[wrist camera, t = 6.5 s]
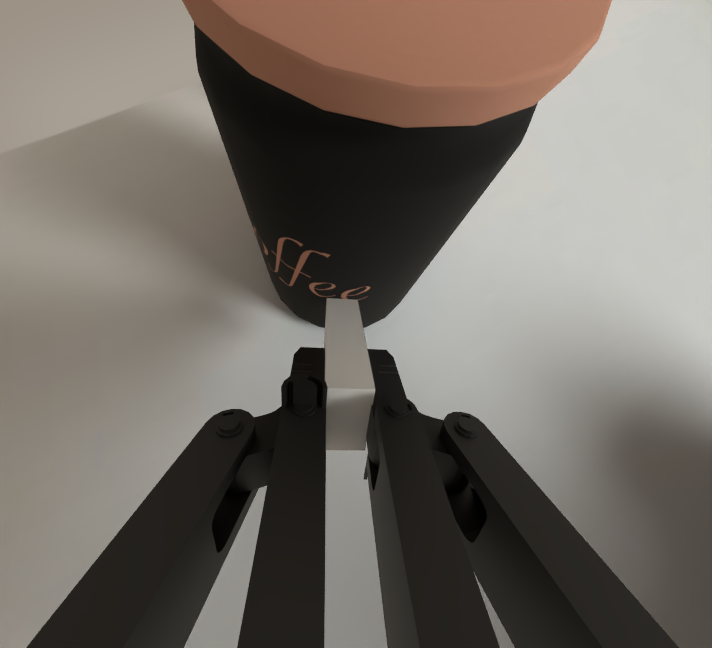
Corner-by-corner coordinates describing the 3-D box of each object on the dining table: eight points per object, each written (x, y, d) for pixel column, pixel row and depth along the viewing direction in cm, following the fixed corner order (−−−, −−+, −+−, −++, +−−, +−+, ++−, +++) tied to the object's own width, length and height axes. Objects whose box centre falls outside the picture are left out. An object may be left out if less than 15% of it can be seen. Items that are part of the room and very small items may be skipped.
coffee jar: (244, 252, 23) (40, -191, 6) (353, 192, 26) (422, -229, 9) (324, 363, 22) (352, 181, 5) (431, 286, 24) (699, -7, 7)
